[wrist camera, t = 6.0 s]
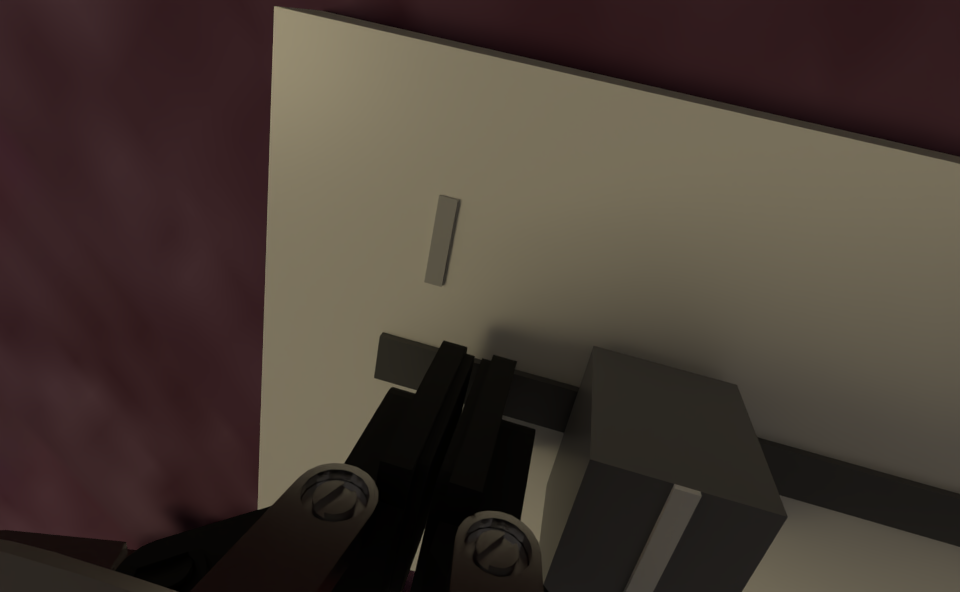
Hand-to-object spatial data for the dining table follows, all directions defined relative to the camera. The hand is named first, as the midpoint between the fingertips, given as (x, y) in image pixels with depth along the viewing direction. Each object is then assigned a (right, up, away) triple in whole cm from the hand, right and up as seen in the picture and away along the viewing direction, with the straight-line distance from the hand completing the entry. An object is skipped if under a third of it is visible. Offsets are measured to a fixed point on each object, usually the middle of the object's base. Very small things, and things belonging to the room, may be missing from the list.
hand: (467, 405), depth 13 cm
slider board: (+8, -1, +2) cm, 8 cm away
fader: (+4, -1, 0) cm, 4 cm away
